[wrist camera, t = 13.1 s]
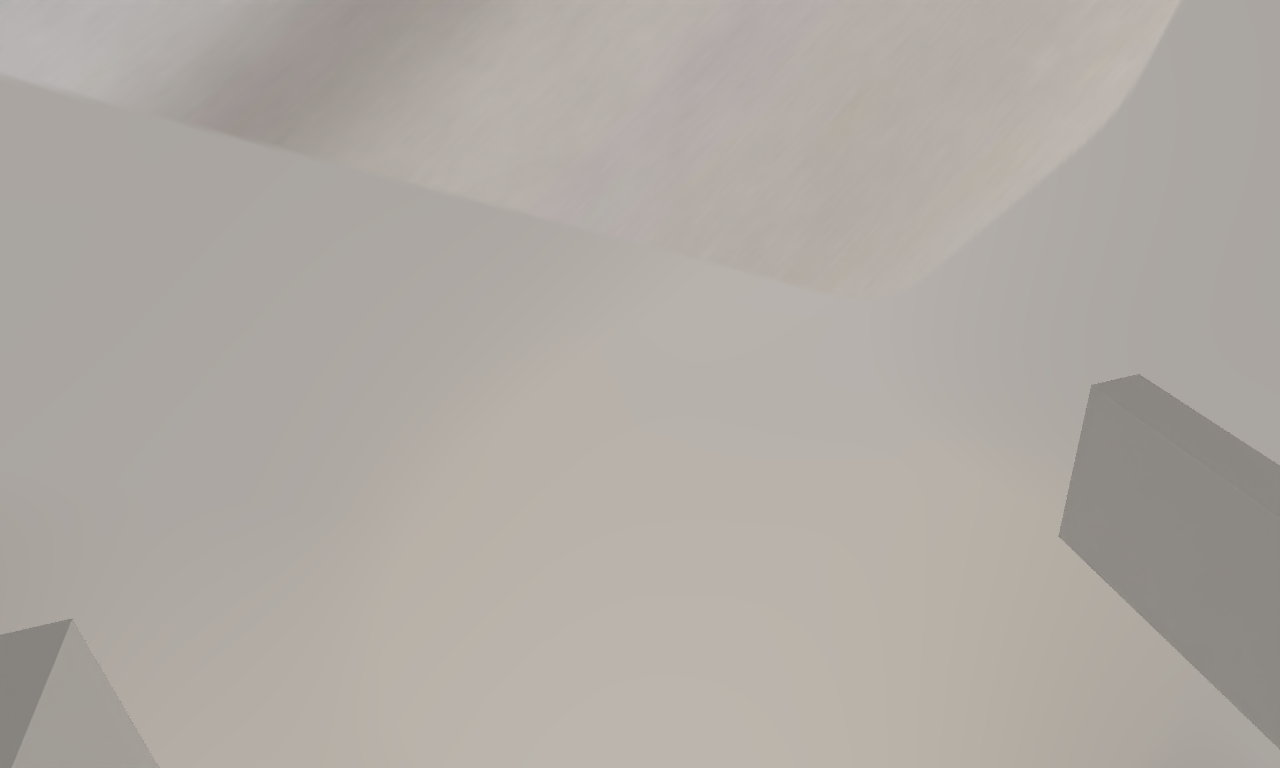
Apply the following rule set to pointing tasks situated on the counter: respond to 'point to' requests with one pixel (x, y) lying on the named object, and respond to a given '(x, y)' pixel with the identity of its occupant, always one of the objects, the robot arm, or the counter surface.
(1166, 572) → the robot arm
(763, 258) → the counter surface
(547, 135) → the counter surface
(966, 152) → the counter surface
